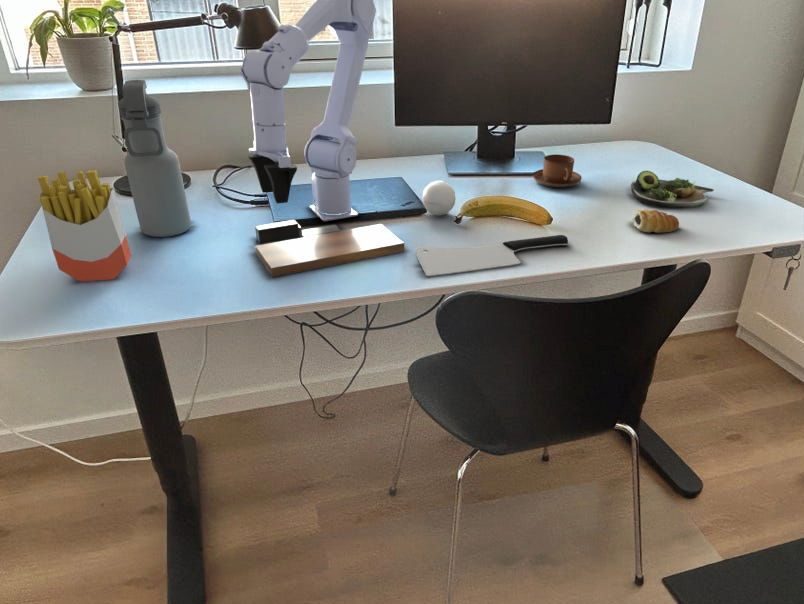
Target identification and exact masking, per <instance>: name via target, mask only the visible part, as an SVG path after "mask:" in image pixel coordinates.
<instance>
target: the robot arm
mask: <svg viewBox="0 0 804 604" xmlns="http://www.w3.org/2000/svg"><path fill="white" fill-rule="evenodd" d="M376 13H377V8H376V5H375V1H374V0H315V1H314V2H313V3H312V5H311V6H310V7H309V8H308V9H307V10H306V11H305V13H304V14H303V15H302V16H301V17H300V19H299V20H298V21H297V22H296V23H295V24H294V25H293V24H280V25H279V26H278V28H277V32H276V33H275V34H274V35H273V36H272V37H271V38H270V39H269V40H268V41H264V43H262V46H261V47H260V48H259V50H256V49H255V50H254V49H253V50H251V51H249V52H248V53H247V54H246V55H245V56H244V58H243V60H242V66H241V67H240V73H241V76H242V78H243V80H244V81H245V83H246V86H247V92H248V94H249V95H250V102H251V103H250V104H251V115H252V125H253V138H254V140H253V147H250V148H248V153H249V154H248V156H247V157H248V160H249V161H250V163H251V164H252V166H253V168H254V170H255V173H256V176H257V180H258V183H259V186H260V190H261V192H262V193H263V194H265V193H273V198H274V201H275V203H276V204H285V203H286V204H287V203H288V202H289V198H290V192H291V187H292V183H293V179H294V176H295V175H296V173H297V171H298V166H297V165H295V164H292V161H291V156H290V155H289V148H288V145H287V127H286V111H285V110H286V109H285V95H284V87H285V86H287V85H288V83H289V81H290V78H291V73H292V71H293V68H294V67H295V66H296V65H297V64H298V62H299V61H301V60H302V59H303V58H304V56H306V55H307V53H308V52H309V49H310V45H309V44H310V43H309V42H310V41H312V40H313V39H314V38H315V37H316V36H317V35H319V34H320V33H321V32H322V31H323V30H324V29H326V28H327V27H328V29H329V30H330V32H331V34H332V35H333V36H334V37H336V38H337V40H338V42H339V47H338V48H339V49H338V53H337V57H336V62H335V67H334V71H333V76H332V80H331V85H330V90H329V94H328V97H327V103H326V107H325V111H324V117H323V121H322V122H321V123H320V124H319V125H317V126H315V127H314V128H313V129H311V134H310V137H309V139H308V141H307V143H306V145H305V147H304V152H303V155H304V161H305V163H306V165H307V166H308V167H310V169H311V173H312V176H311V179H310V180H311V191H312V192H311V193H312V200H313V204H311V205H309V209H310V210H311V211H312V212H313V213H314V214H315V215H316V216H317V217H318V218H320V220H322V221H323V222H329V221H335V220H341V219H347V218H354V217H358V216H359V213H358V212H357V211H356V210H355V209H354V208H352V201H351V197H352V196H351V184H350V175H351V174H352V173H353V171H354V169H355V167H356V165H357V159H358V157H357V156H358V155H357V147H358V140H357V139H356V137H355V136H354V135H353V133H352V131H351V130H350V127H351V123H352V118H353V114H354V108H355V104H356V101H357V95H358V90H359V86H360V83H361V78H362V73H363V69H364V65H365V60H366V56H367V51H368V46H369V40H370V39H371V35H372V30H373V26H374V22H375V16H376ZM314 204H315V205H316V206H315V205H314ZM319 211H320V212H322V213H327V214H339V213H345V212H347V213H345V214H341V215H326V214H322V213H320V212H319ZM348 211H349V212H348Z"/></svg>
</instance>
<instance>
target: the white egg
mask: <svg viewBox="0 0 804 604" xmlns="http://www.w3.org/2000/svg"><path fill="white" fill-rule="evenodd" d="M421 195H422V197H421V199H418V200H416V201H415V203H417V202H419V201H421V202H422V205H423V207H424V209H425V210H426V211H427V212H428V213H430V214H431V215H434V216H443V215H446V214H448V213H449V212H451V210H453V208H454V206H455V203H456V199H457V198H456V192H455V190H454V188H453V187H452V186H451V185H450V184H449V183H448V182H445V181H443V180H434V181H431V182H429V184H428V185H426V186H425V188H424V189H423V191H422V194H421Z"/></svg>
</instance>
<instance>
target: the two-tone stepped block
mask: <svg viewBox="0 0 804 604" xmlns="http://www.w3.org/2000/svg"><path fill="white" fill-rule="evenodd" d="M254 230H255V236H256V240H257V242H258V243H259V244H267V243H272V242H278V241H284V240H290V239H295V238H303V237H308V236H314V235H320V234H326V233H331V232H337V231H342V230H341V228H340V227H338V225H337V224H330V225H325V226H319V227H313V228H306V229H303V228H302V226H301V225H300V224H299V223H298V222H297V221H296V220H295V219H289V220H285V221H284V220H283V221H278V222H273V223H265V224H260V225H254Z"/></svg>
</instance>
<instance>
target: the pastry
mask: <svg viewBox="0 0 804 604" xmlns="http://www.w3.org/2000/svg"><path fill="white" fill-rule="evenodd" d="M632 222H633V226H634V227H635V228H636V229H638V230H639V231H640V232H643V233H652V232H654V233H655V234H656V233H657V234H661V233H670V232H674V231H676V230H678V229H679V228H680V222H679V219H678V218H677V217H676V216H675V215H673V214H667V212H663V211H658V210H656V209H651V210H649V209H642V210H641V209H640V210H636V213H635V214H634V215H633V217H632Z"/></svg>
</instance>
